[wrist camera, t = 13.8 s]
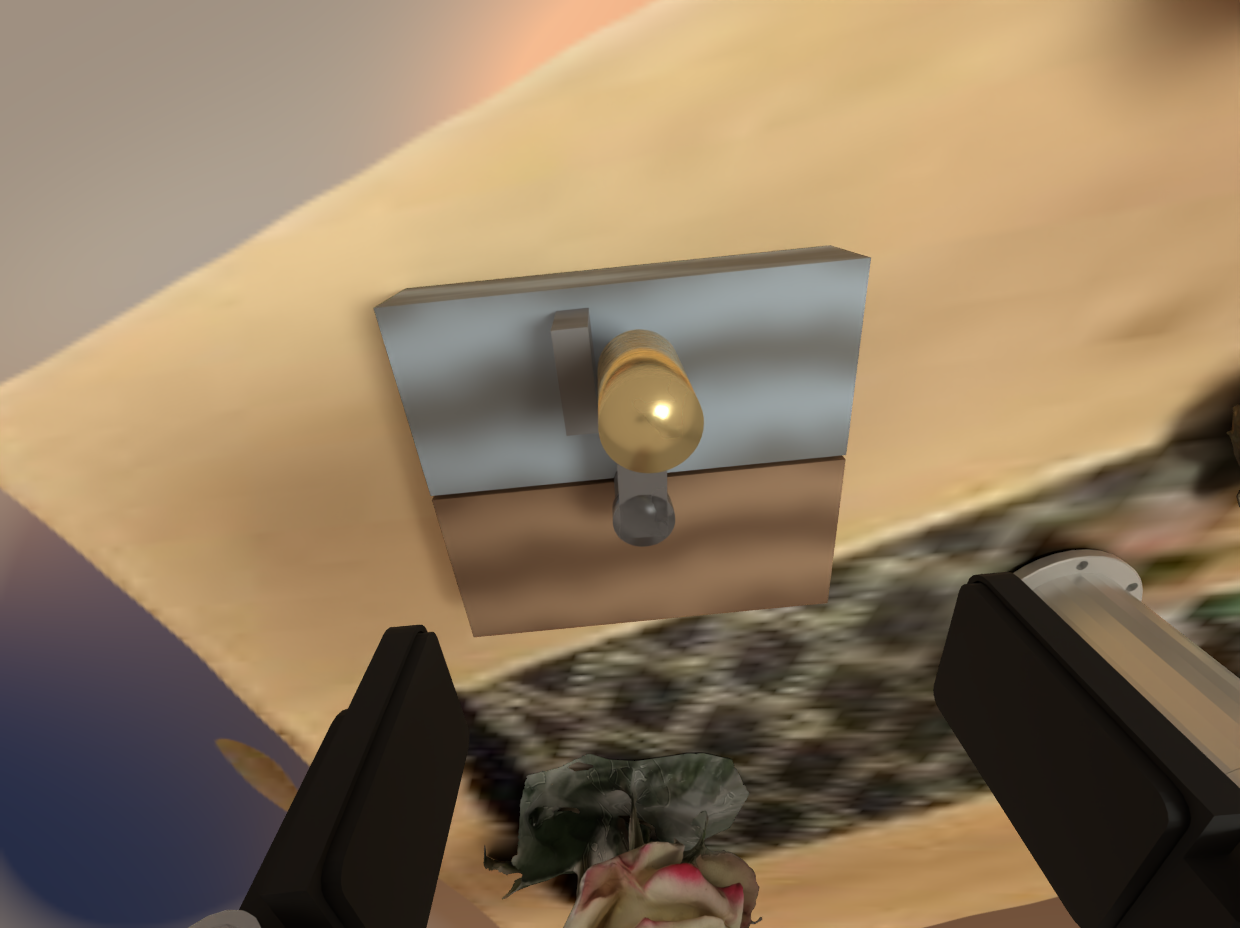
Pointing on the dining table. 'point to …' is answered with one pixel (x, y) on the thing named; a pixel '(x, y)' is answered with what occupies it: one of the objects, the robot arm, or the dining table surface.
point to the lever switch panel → (586, 475)
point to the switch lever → (645, 429)
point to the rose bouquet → (637, 842)
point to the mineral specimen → (1236, 437)
